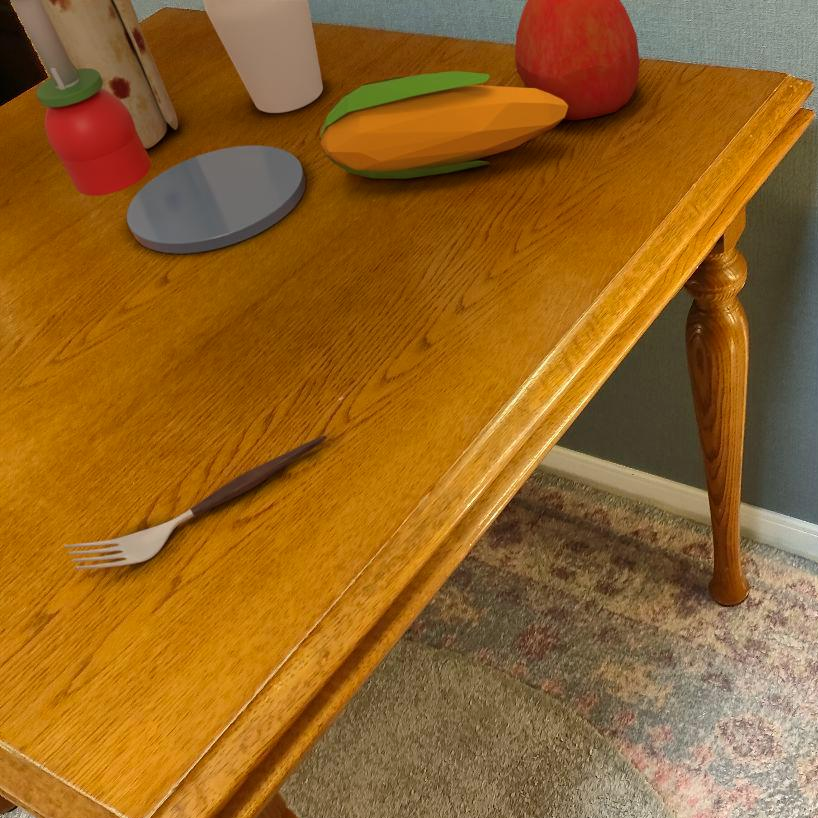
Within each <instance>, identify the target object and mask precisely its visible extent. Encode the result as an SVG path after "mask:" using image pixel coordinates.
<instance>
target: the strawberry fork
mask: <svg viewBox="0 0 818 818" xmlns="http://www.w3.org/2000/svg"><path fill="white" fill-rule="evenodd" d="M10 2H11V5H12V6H13V9H14V10H15V13H16V15H17V16H18V18H19V20H20V22H21V23H22V26H23V27H24V30H25V32H26V33H27V36H28V37H29V39H30V42H31V43H32V45H33V47H34V49H35V51H36V53H37V55H38V56H39V59H40V61H41V62H42V65H43V67H44V69H45V70H46V72H47V74H48V76H49V79H46V81H45V80H44V82H42V83H41V84H40V85H39V86H38V87H37V88H36V91H35V94H36V97H37V100H38V102H39V103H40V104H41V105H42V106H44V107H47V109H46V113H45V119H44V128H45V133H46V137H47V140H48V142H49V145H50V146H51V148H52V150H53V151H54V152H55V154H56V155H57V156H58V158H59V160H60V161H61V163H62V165H63V166H64V168H65V170H66V172H67V174H68V176H69V178H70V179H71V181H72V183H73V186H74V187H75V189H76V190H77V191H78V192H79V194H82V195H85V196H91V197H92V196H94V197H95V196H105V195H111V194H114V193H117V192H121V191H123V190H125V189H128V188H129V187H131V186H134V185H135V184H137V183H138V182H140V181H141V180H143V178H145V177H146V176H147V175H148V174H149V172H150V170H151V168H152V161H151V158H150V156H149V155H148V152H147V149H145V148H144V146H143V144H142V141H141V139H140V137H139V135H138V133H137V131H136V128H135V124H134V121H133V118H132V116H131V114H130V112H129V111H128V109H127V108H126V106H125V105H124V104H123V103H122V102H121V101H120V100H119V99H118V98H117V97H116V96H115V95H113V94H112V93H110V92H109V91H107V90H105V89H102V88H101V87H102V86H103V80H102V78H101V75H100V73H99V72H98V71H97V70H94V69H89V68H84V69H76V70H75V68H74V66H73V64H72V62H71V60H70V58H69V56H68V54H67V52H66V50H65V48H64V46H63V44H62V42H61V40H60V38H59V36H58V34H57V32H56V30H55V27H54V25H53V23H52V21H51V19H50V17H49V15H48V13H47V11H46V9H45V7H44V5H43V3H42V1H41V0H10Z"/></svg>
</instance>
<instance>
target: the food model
mask: <svg viewBox="0 0 818 818" xmlns="http://www.w3.org/2000/svg"><path fill="white" fill-rule="evenodd" d="M41 1H42V3H43V5H44V7H45V9H46V11H47V13H48V15H49V17H50V19H51V21H52V23H53V25H54V27H55V30H56V32H57V34H58V36H59V38H60V40H61V42H62V44H63V46H64V48H65V50H66V52H67V54H68V56H69V58H70V60H71V62H72V64H73V66H74V68H75V70H76V69H84V68H89V69H94V70H97V71H98V72H99V73H100V75H101V78H102V80H103V86H102V87H101V88H102V89H105V90H107V91H109V92H110V93H112V94H113V95H115V96H116V97H117V98H118V99H119V100H120V101H121V102H122V103H123V104H124V105H125V106H126V108H127V109H128V111H129V112H130V114H131V116H132V118H133V121H134V124H135V128H136V131H137V133H138V135H139V137H140V139H141V141H142V144H143V146H144V148H145V150H147V149H150V148H152V147H154V146H155V145H156V144H157V143H159V141H161V140H162V139H163V138H164V136H165V135H166V133H167V131H168V125H169V127H171V128H172V129H173V130H174V131H177V129H178V127H179V122H178V118H177V114H176V111H175V108H174V105H173V103H172V101H171V99H170V96H169V94H168V91H167V88H166V86H165V84H164V81H163V79H162V76H161V74H160V72H159V69H158V67H157V64H156V61H155V59H154V57H153V54H152V51H151V49H150V47H149V45H148V42H147V39H146V37H145V35H144V32H143V29H142V27H141V25H140V21H139V18H138V16H137V13H136V10H135V8H134V5H133V4H132V1H131V0H41Z"/></svg>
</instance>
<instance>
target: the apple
mask: <svg viewBox="0 0 818 818" xmlns="http://www.w3.org/2000/svg"><path fill="white" fill-rule="evenodd" d="M630 18H631V17H630V15H629V14H628V11H627V9H626V7H625V5H624V4H623V3H622V1H621V0H527V1H526V2H525V5H524V7H523V10H522V12H521V15H520V18H519V21H518V26H517V31H516V33H515V47H514V48H515V49H514V60H515V66H516V72H517V74H518V76H519V77H520V79H521V81H522V82H523V84H524V86H525V88H536V89H539V90H541V91H544V92H547V93H550V94H552V95H554V96H556V97H558V98H560V99H562V100H564V101H565V103H566V104H567V105H568V109H567V112H566V115H565V117H564V118H563V119H562V120H569V121H579V120H585V119H591V118H593V119H594V118H597V117H601V116H605V115H609V114H613V113H616V112H617V111H619V110H620V109H622V108H623V107H624V106H625V105H626V104H628V103H629V101H630V100H631V98H632V96H633V94H634V92H635V91H636V89H637V87H638V81H639V73H640V63H641V62H640V53H639V45H638V44H639V43H638V36H637V33H636V30H635V28H634V25H633V23H632V21H631V19H630Z"/></svg>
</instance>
